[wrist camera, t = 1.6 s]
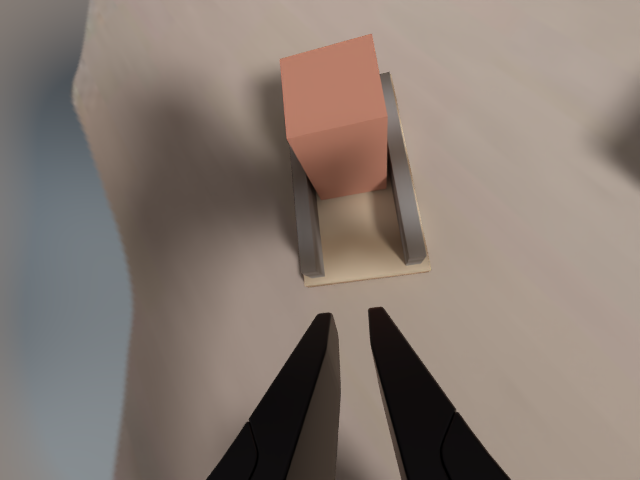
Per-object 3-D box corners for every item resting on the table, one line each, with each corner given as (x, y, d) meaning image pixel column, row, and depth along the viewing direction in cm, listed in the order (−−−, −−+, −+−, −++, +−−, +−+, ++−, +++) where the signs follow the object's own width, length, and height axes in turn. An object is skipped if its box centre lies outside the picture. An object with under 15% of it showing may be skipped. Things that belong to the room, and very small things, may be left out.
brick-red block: (386, 188, 22) (387, 116, 14) (321, 200, 23) (286, 138, 15) (376, 130, 23) (371, 33, 15) (315, 144, 24) (279, 59, 16)
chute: (428, 271, 21) (439, 262, 17) (308, 287, 23) (292, 282, 19) (390, 84, 25) (391, 42, 21) (291, 108, 27) (275, 73, 23)
